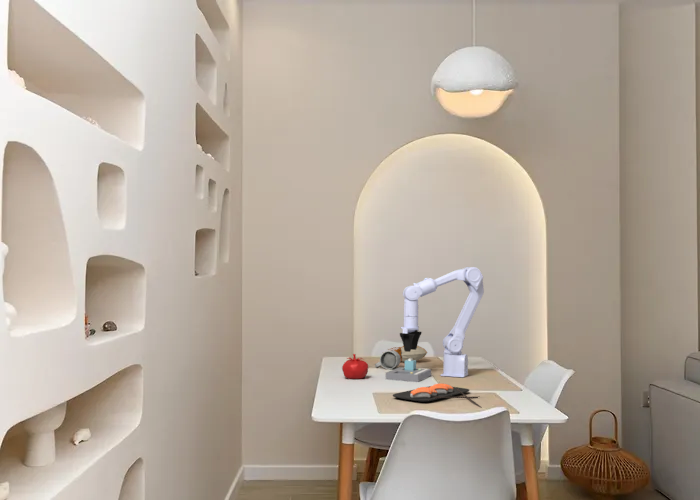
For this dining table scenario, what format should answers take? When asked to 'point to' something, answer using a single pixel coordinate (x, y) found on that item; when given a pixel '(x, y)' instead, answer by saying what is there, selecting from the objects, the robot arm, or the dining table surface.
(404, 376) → the panel
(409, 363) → the plug
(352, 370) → the red round piece
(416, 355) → the nautilus
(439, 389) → the sushi plate
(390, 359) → the ceramic mug
